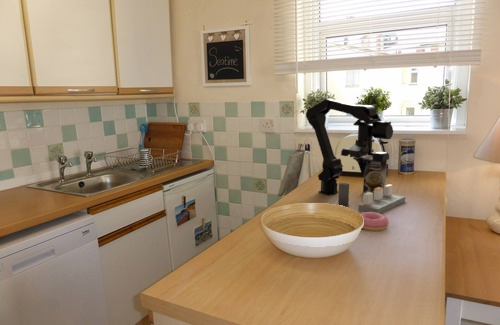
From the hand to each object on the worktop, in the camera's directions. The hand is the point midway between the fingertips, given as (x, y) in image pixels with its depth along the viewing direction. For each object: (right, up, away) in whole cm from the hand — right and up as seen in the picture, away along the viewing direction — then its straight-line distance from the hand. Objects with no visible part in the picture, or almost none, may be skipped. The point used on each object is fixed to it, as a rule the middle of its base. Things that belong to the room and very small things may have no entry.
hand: (363, 174), depth 151 cm
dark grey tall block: (-9, -12, -4) cm, 16 cm away
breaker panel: (+6, -12, -4) cm, 14 cm away
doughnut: (-5, -17, -25) cm, 31 cm away
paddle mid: (+5, -10, -3) cm, 12 cm away
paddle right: (+11, -9, +2) cm, 14 cm away
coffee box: (+8, -9, +12) cm, 17 cm away
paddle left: (-1, -11, -9) cm, 14 cm away
